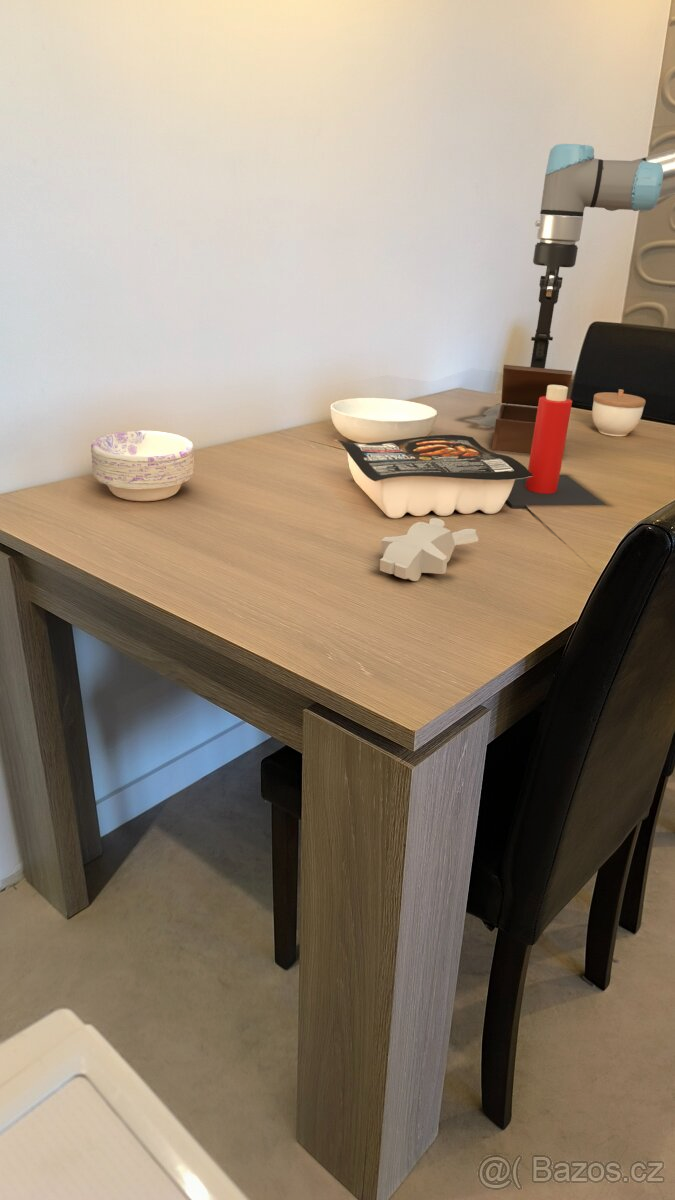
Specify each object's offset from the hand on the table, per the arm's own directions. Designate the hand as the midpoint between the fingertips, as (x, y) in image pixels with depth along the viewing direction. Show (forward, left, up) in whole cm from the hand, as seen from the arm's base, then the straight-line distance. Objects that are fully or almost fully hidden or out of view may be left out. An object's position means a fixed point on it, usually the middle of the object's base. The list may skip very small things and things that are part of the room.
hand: (536, 375), depth 158 cm
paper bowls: (+73, +27, -15) cm, 79 cm away
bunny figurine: (+36, +57, -15) cm, 69 cm away
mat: (+8, +27, -14) cm, 32 cm away
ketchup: (+8, +27, -14) cm, 31 cm away
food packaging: (+29, +30, -15) cm, 44 cm away
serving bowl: (+29, -4, -15) cm, 32 cm away
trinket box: (-25, -14, -15) cm, 32 cm away
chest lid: (-1, -1, -3) cm, 3 cm away
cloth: (-3, -24, -15) cm, 28 cm away
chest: (0, -1, -14) cm, 14 cm away
